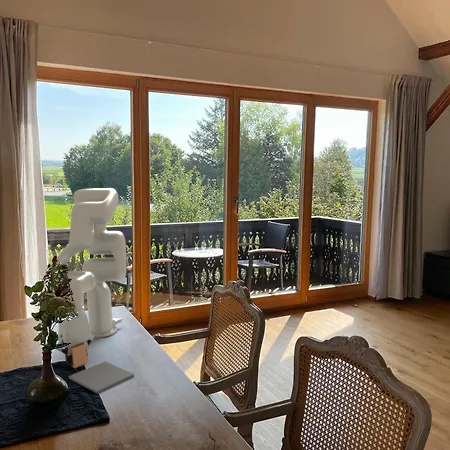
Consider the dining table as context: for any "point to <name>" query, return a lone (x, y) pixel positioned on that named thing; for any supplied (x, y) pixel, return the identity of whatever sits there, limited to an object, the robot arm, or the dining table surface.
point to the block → (79, 355)
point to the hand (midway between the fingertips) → (77, 361)
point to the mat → (101, 377)
